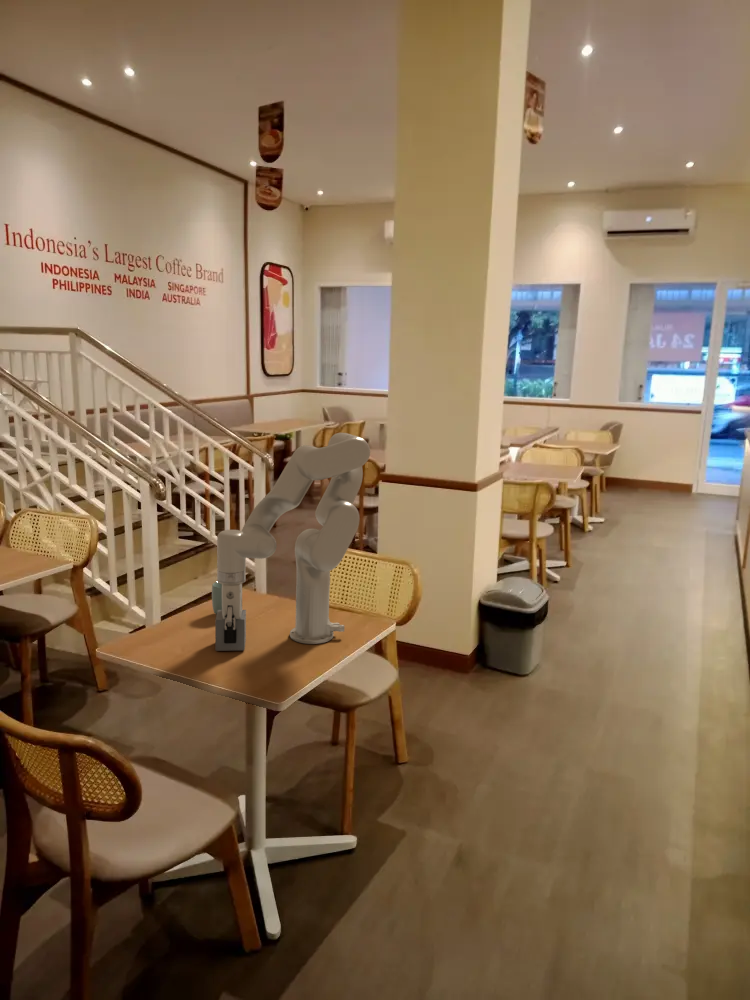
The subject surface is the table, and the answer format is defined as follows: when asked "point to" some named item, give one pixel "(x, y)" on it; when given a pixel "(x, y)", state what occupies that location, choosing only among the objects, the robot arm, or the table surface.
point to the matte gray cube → (240, 633)
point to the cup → (216, 597)
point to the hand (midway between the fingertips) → (231, 636)
